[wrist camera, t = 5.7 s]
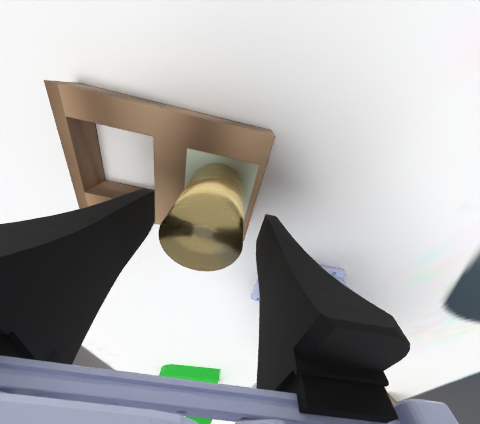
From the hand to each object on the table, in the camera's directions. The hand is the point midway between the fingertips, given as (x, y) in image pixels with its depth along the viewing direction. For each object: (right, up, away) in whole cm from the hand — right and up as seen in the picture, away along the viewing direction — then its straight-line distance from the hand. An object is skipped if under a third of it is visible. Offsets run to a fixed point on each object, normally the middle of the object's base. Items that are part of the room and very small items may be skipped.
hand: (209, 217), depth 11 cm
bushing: (0, +2, +3) cm, 4 cm away
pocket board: (-4, +4, +5) cm, 8 cm away
